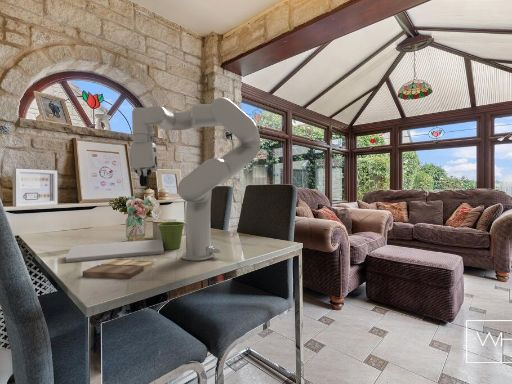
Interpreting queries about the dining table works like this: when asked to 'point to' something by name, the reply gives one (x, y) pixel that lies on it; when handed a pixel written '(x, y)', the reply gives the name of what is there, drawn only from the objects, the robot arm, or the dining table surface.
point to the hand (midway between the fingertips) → (144, 186)
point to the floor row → (112, 271)
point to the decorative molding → (114, 250)
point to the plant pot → (171, 234)
